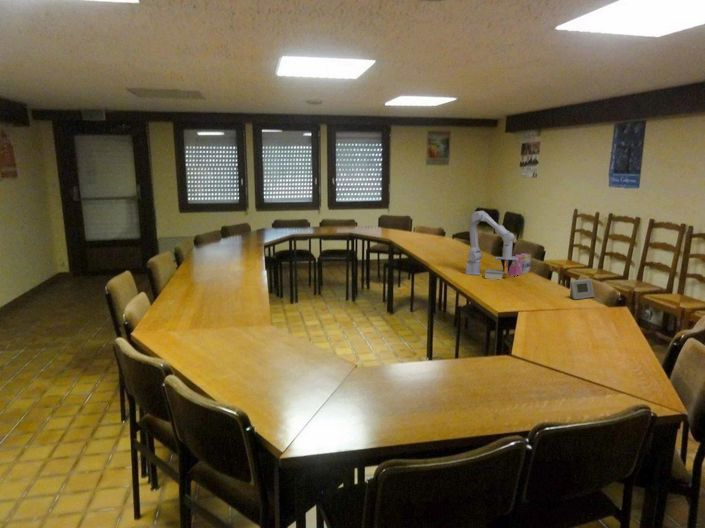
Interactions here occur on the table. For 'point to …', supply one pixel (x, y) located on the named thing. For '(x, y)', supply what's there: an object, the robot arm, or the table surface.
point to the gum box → (520, 264)
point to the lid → (498, 270)
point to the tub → (493, 275)
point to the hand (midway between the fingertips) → (505, 271)
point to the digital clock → (581, 289)
